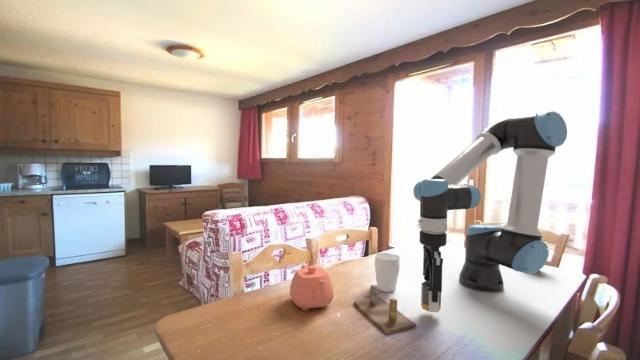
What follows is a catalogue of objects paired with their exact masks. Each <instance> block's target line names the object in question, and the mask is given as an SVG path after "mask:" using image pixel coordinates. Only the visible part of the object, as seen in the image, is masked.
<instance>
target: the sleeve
mask: <svg viewBox="0 0 640 360" xmlns="http://www.w3.org/2000/svg"><path fill="white" fill-rule="evenodd" d="M428 288H430V282H428V281H426V280H424V281H423V282H421V296H420V297H421V298H420V299H421V300H420V301H421V302H420V306H421V309H423V310H424V311H426V312H429V311H428V309H429V291H428ZM441 305H442V292H439V311H441Z"/></svg>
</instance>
